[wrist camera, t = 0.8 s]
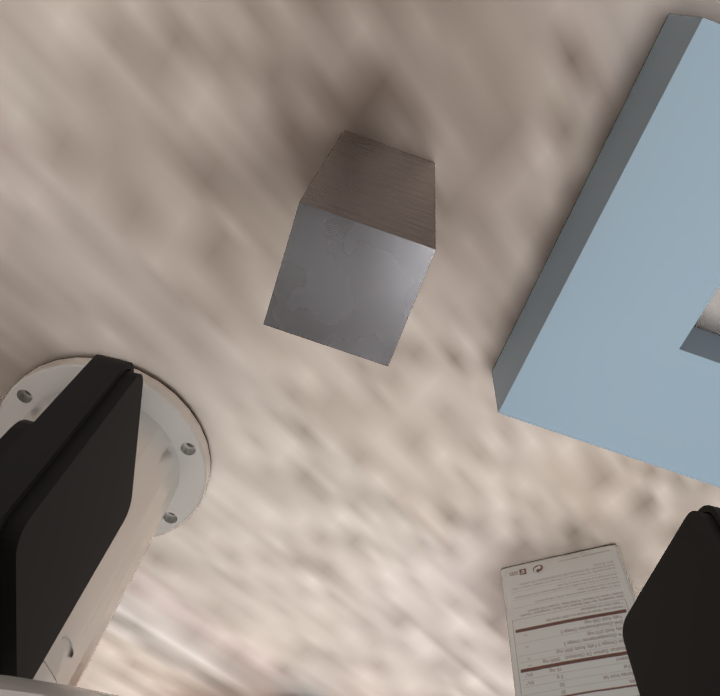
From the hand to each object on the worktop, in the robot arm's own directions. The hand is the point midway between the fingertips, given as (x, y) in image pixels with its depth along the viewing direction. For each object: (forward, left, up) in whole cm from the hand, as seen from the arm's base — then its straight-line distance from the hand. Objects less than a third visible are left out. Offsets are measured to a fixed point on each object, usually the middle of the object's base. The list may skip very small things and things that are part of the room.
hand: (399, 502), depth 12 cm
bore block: (+1, -16, -23) cm, 28 cm away
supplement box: (-21, -18, -24) cm, 37 cm away
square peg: (-1, +2, -23) cm, 23 cm away
